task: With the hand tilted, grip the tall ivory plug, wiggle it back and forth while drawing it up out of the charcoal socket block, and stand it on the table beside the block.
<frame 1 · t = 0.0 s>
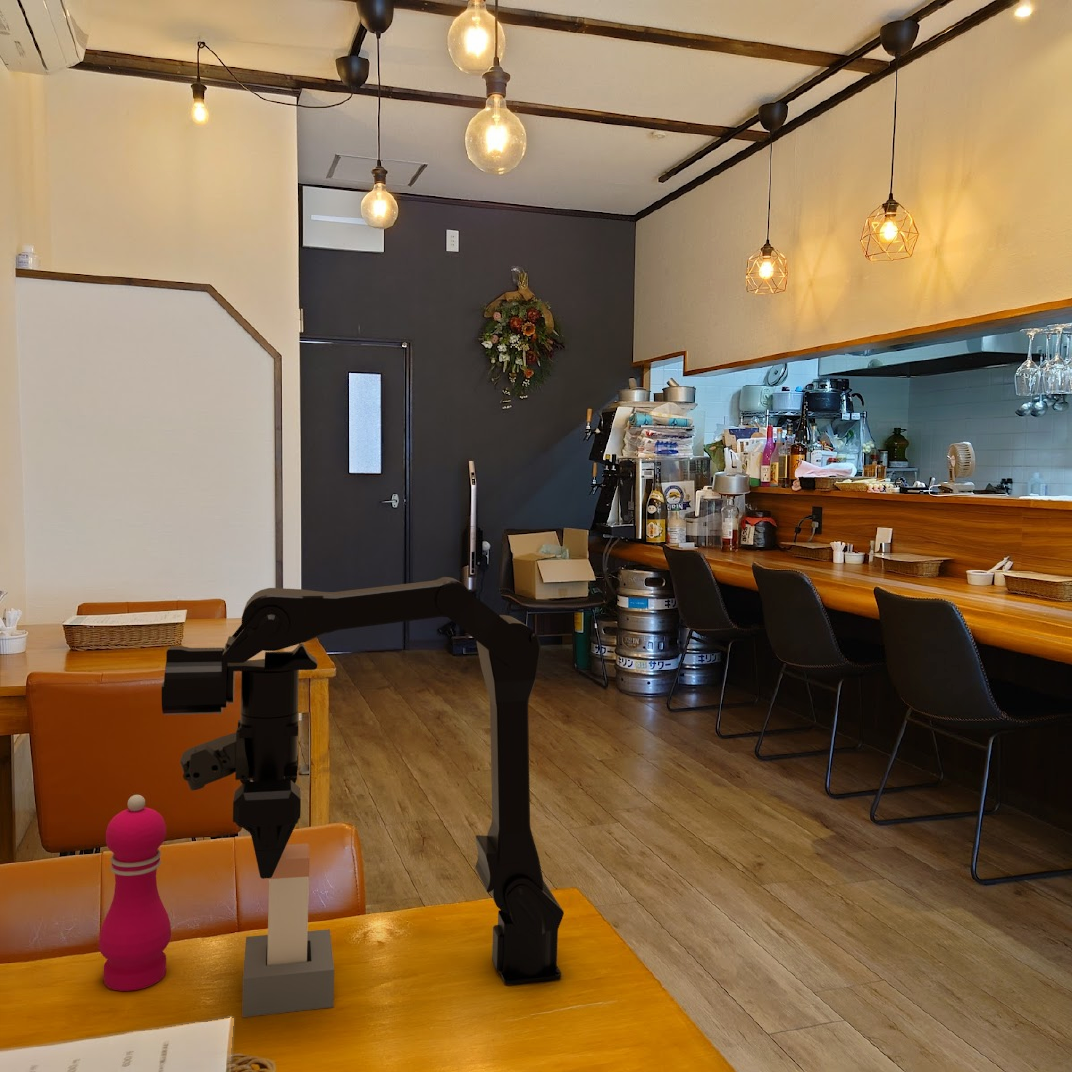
hand: (266, 859, 99), 15 cm above the table, tool pointing down, fingers open, 9 cm apart
plug: (286, 989, 101), resting in socket block
socket block: (288, 989, 101), on the table
pepper mill: (135, 978, 103), on the table
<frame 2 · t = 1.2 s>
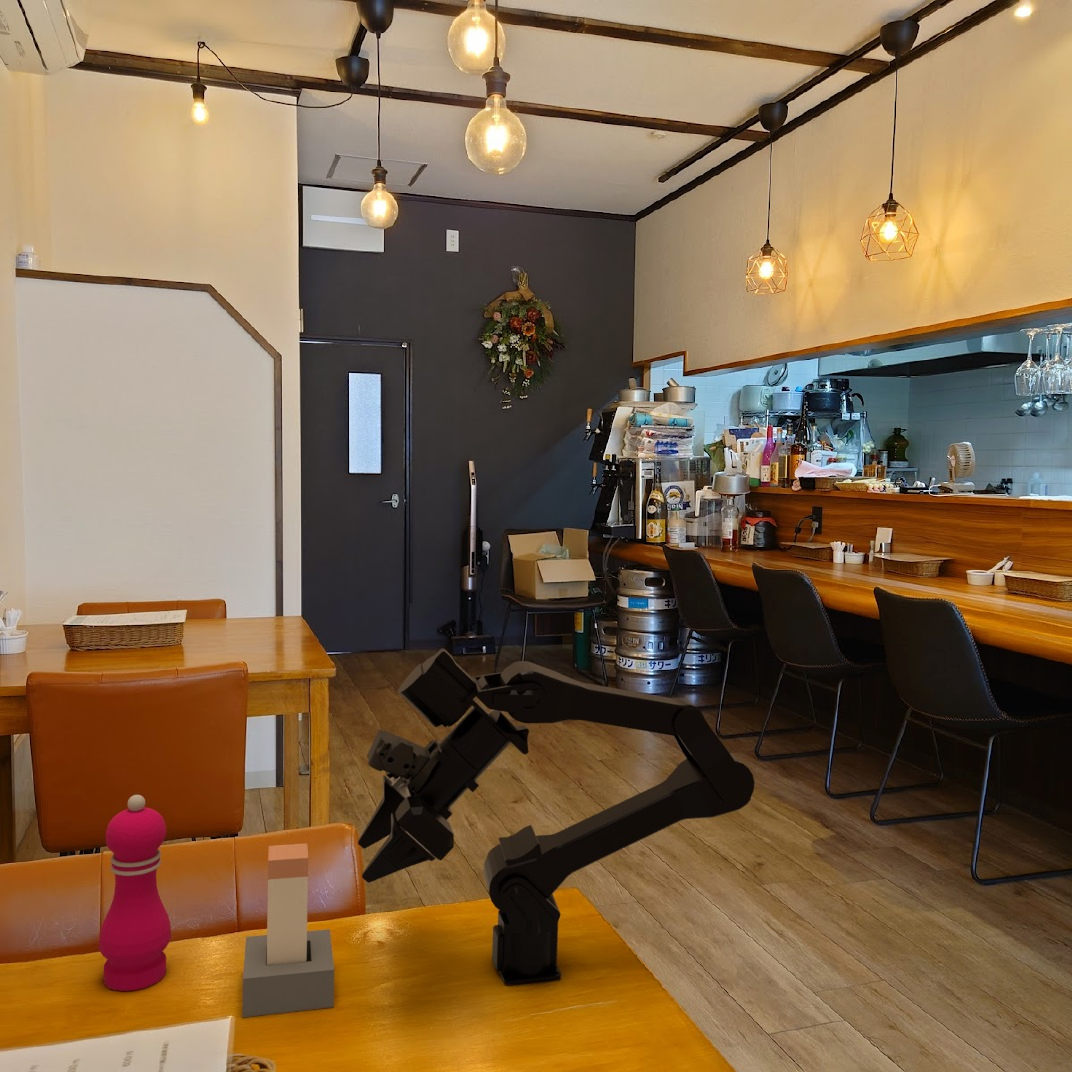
hand: (362, 861, 102), 13 cm above the table, tool tilted 45°, fingers open, 9 cm apart
nothing on the table moved.
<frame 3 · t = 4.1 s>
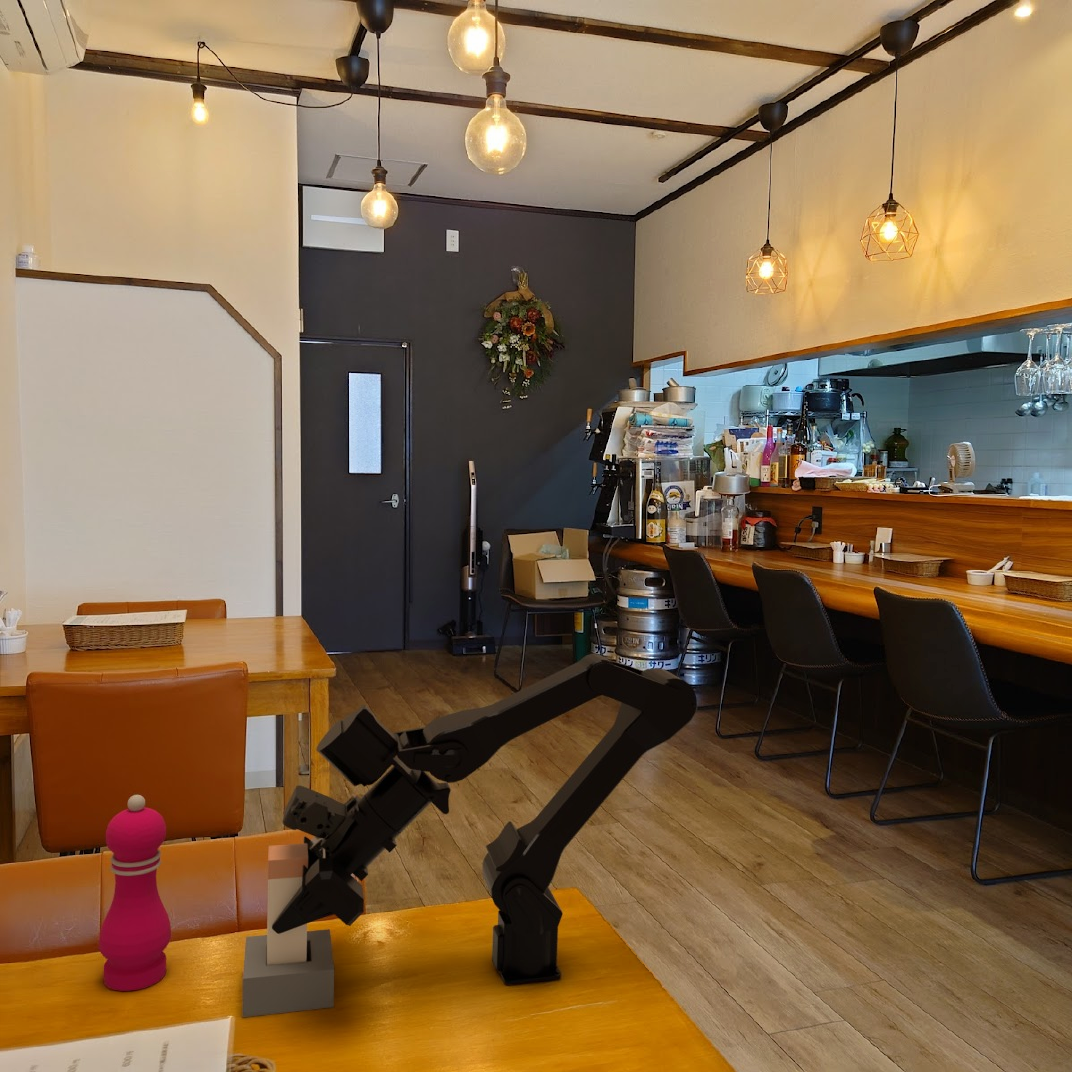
hand: (275, 920, 100), 8 cm above the table, tool tilted 45°, fingers closed on plug, 4 cm apart
plug: (286, 989, 101), resting in socket block, touching gripper
everything else where it was.
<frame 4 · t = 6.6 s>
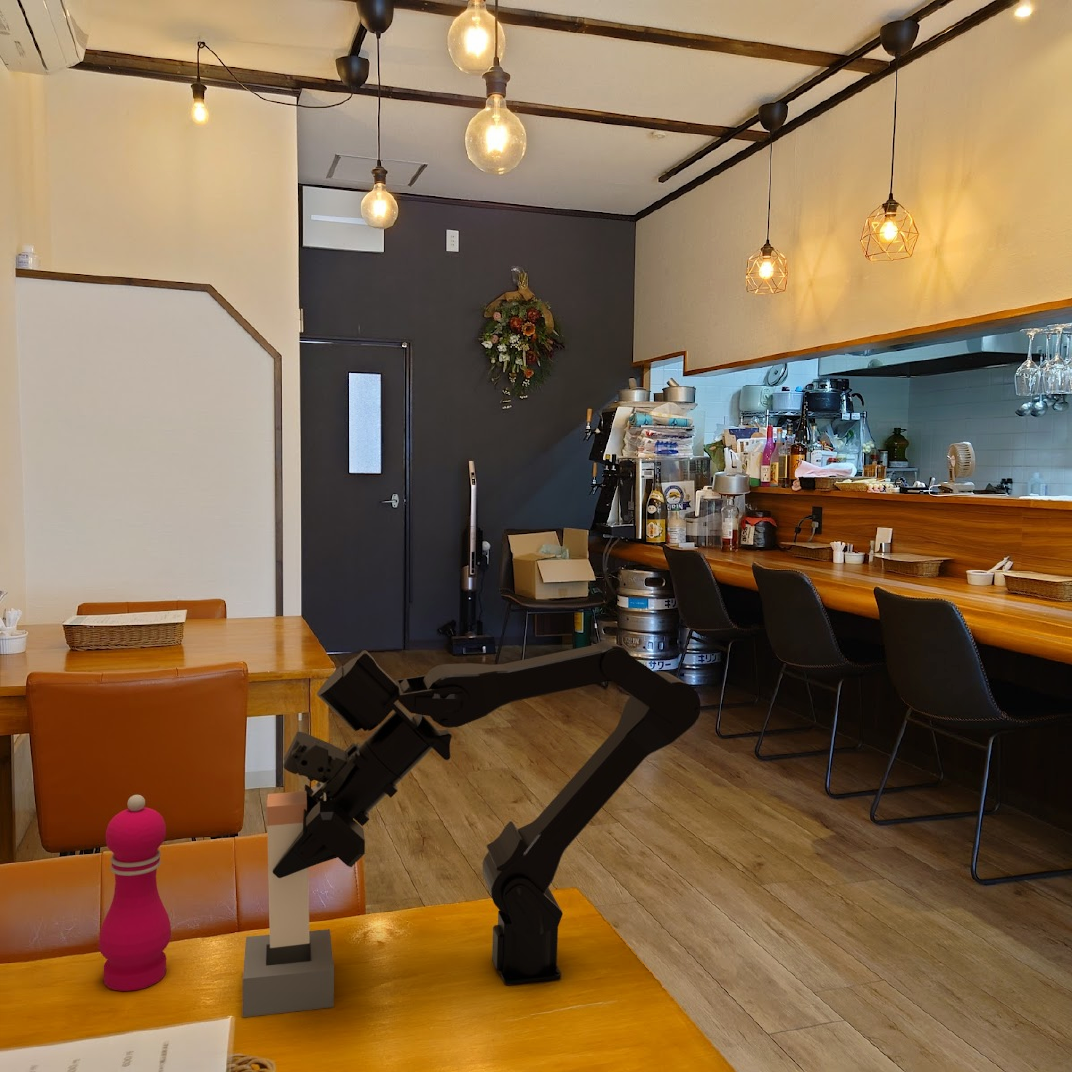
hand: (276, 866, 100), 13 cm above the table, tool tilted 45°, fingers closed on plug, 4 cm apart
plug: (290, 936, 101), point 6 cm above the table, touching gripper
everything else where it was.
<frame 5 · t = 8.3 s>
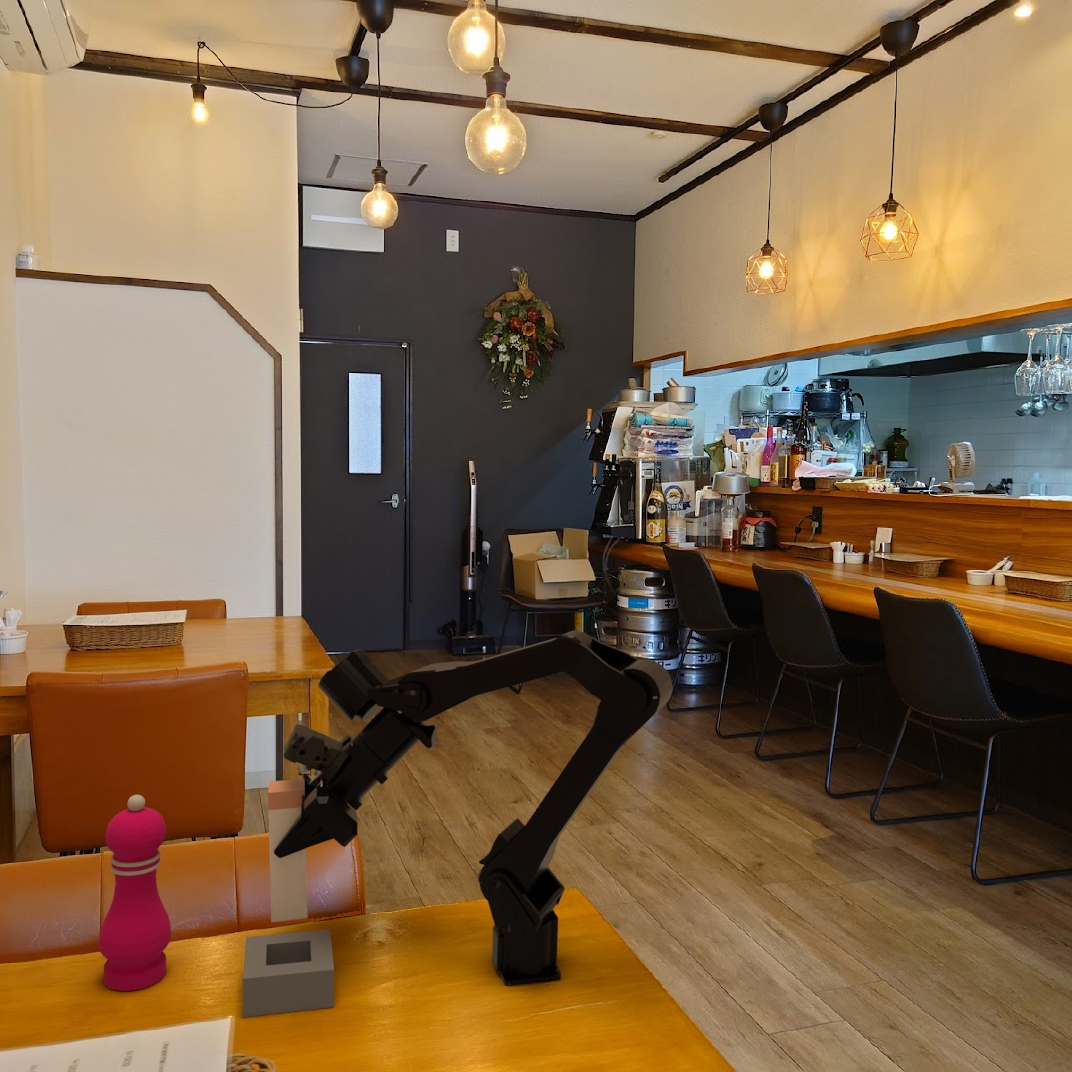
hand: (277, 847, 109), 12 cm above the table, tool tilted 45°, fingers closed on plug, 4 cm apart
plug: (289, 912, 110), point 4 cm above the table, touching gripper
everything else where it was.
when the fingers open (9 cm above the table, at t = 9.6 s): plug drops 1 cm, on the table.
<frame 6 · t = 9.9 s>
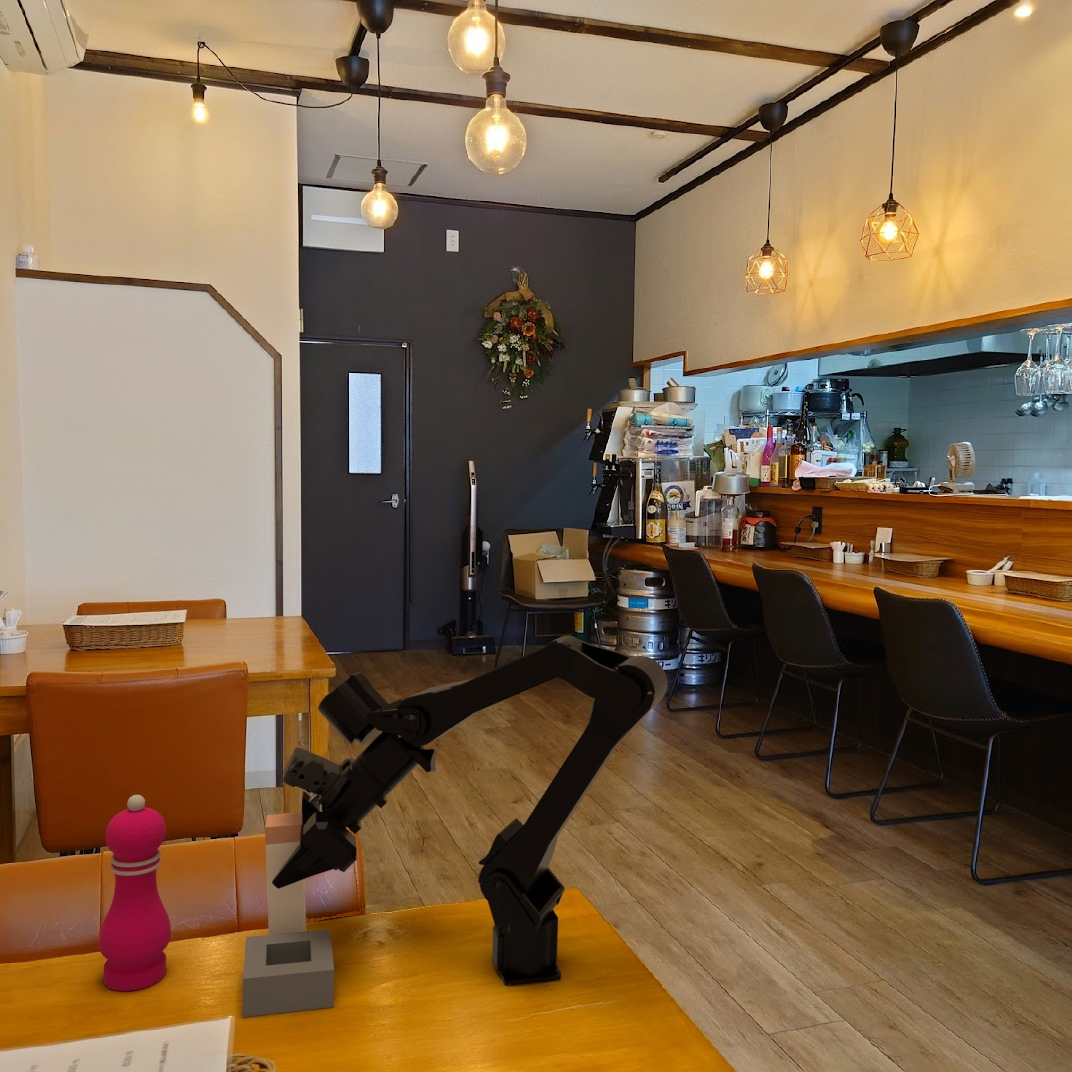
hand: (276, 871, 110), 9 cm above the table, tool tilted 45°, fingers open, 8 cm apart
plug: (288, 945, 110), on the table
everything else where it was.
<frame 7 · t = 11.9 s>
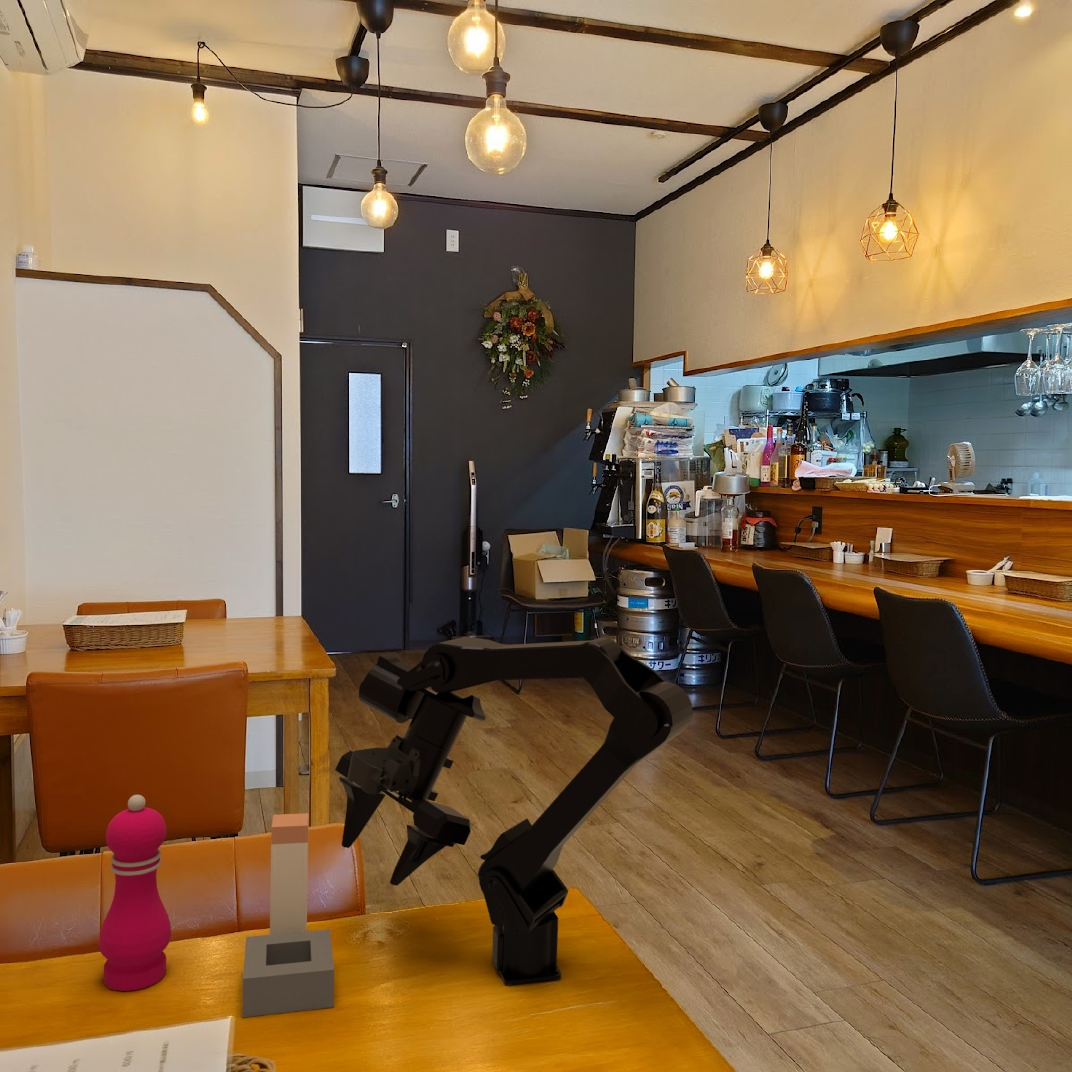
hand: (368, 865, 109), 10 cm above the table, tool tilted 25°, fingers open, 9 cm apart
nothing on the table moved.
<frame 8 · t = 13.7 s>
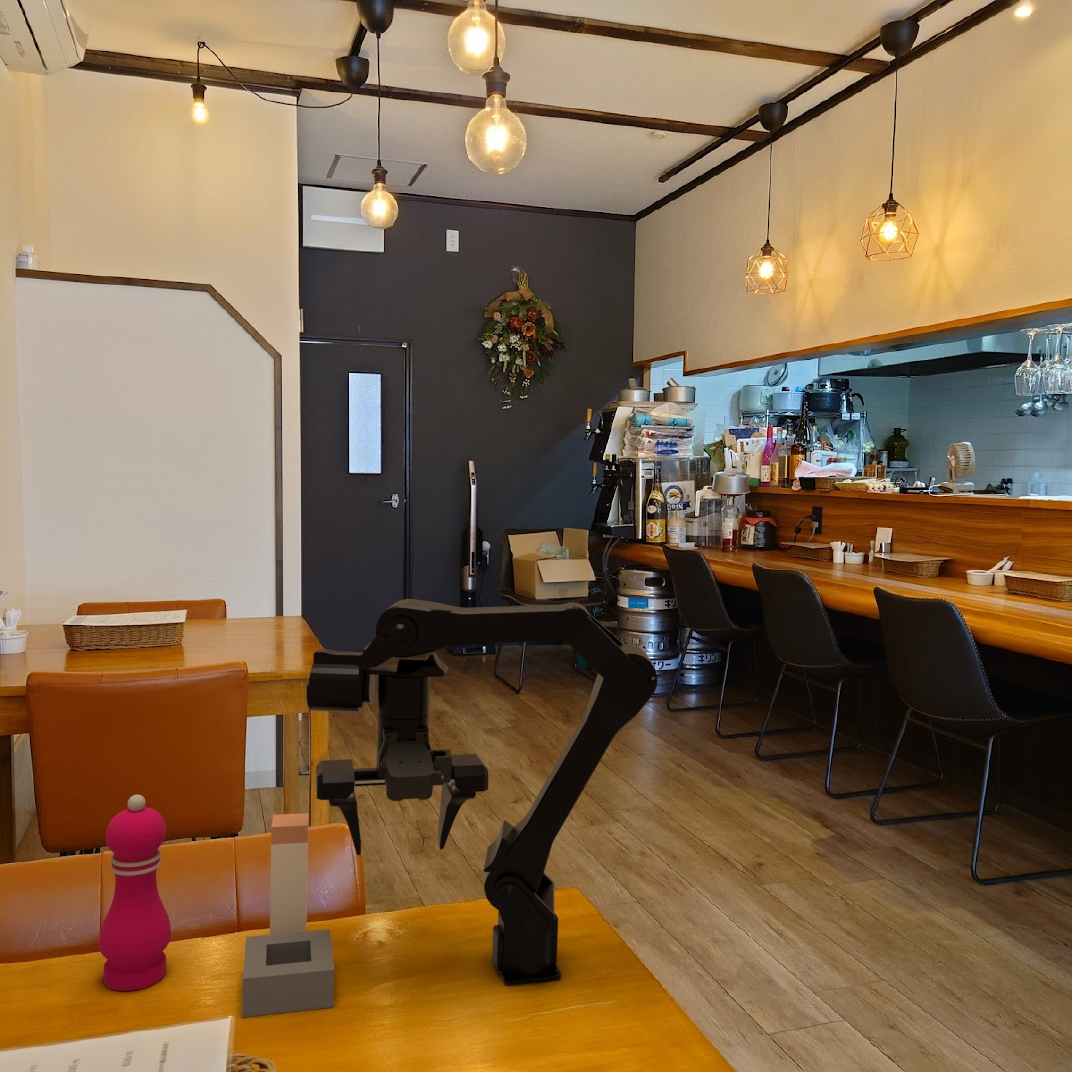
hand: (400, 851, 107), 13 cm above the table, tool pointing down, fingers open, 9 cm apart
nothing on the table moved.
at the end: plug inside the target area (0.1 cm from its centre), on the table; plug tilted 0°; plug touching table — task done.
